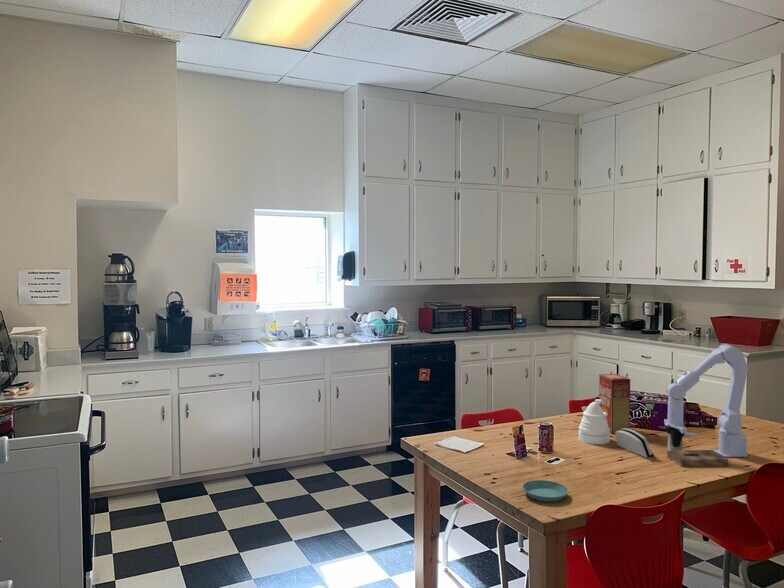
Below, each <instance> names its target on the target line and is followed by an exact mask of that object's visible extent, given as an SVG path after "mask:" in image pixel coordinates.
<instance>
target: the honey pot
mask: <svg viewBox="0 0 784 588" xmlns="http://www.w3.org/2000/svg"><path fill="white" fill-rule="evenodd" d="M601 401H602V400H600V399H598V398H596V399H595V400H594V401H592V402H591V403H589V405H588V406H587V407H586V409H585V410H584V411H583V412H582V414H583V416H582V418H581V421H580V424H579V425H578V440H579V441H580V442H582V443H585V444H589V443H590V444H589V445H607V444H609V443H610V442H611V441H610V439H611V435H610V434H611V433H610V429H609V427H608V424H607V420H606V418H605V417H606V416H607V414H606V413H605V412H603V410H602V408H601V407H600V405H599V404H600V403H601ZM606 443H607V444H606Z"/></svg>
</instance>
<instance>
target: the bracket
mask: <svg viewBox="0 0 784 588" xmlns="http://www.w3.org/2000/svg"><path fill="white" fill-rule="evenodd" d="M683 438H687V439H688V438H689V439H690V438H693V439H694V438H695V439H696V438H698V434H697V433H695V432H687V433H685V434H684V436H683ZM683 438H682V440H681V443H680V446H679V447H674V446H673V438H672V434H671V433H667V451H669V450H670V451H678V450H683Z"/></svg>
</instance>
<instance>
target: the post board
mask: <svg viewBox="0 0 784 588" xmlns="http://www.w3.org/2000/svg"><path fill="white" fill-rule="evenodd" d="M666 457H667V458H668V457H669V458H671V459H672V460H674V461H675V462H674V461H673V462H674V463H676V464H677V463H678V464H677V465H679V464H680V465H681V466H680V465H679V466H680V467H725V466H726V467H728V466H729V459H728V457H724V456H722V455H721V454H719V453H717V452H715V451H714V450H713V449H696V450H695V449H693V450H691V449H690V450H689V449H688V450H685V449H684V450H683V449H682V450H678V451H669V450H666ZM669 458H668V459H669ZM671 459H670V460H671ZM672 460H671V461H672Z"/></svg>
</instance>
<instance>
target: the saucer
mask: <svg viewBox="0 0 784 588" xmlns="http://www.w3.org/2000/svg"><path fill="white" fill-rule="evenodd" d="M521 487H522V488H523V489H522V490H523V491H524V492H525V493H526V495H527V496H529V497H530V498H531V499H533V500H535V499H536V501H540V502H544V501H545V502H547V503H553V502H557V501H558V502H559V501H561V500H563V498H565V497H566V495H567V494H568V492H569V489H568V488H567V487H566V486H565V485H564V484H561V483H558V482H556V481H552V480H543V479H541V480H540V479H535V480H534V479H533V480H529V481H526V482H524V483H523V484H522V486H521Z"/></svg>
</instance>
